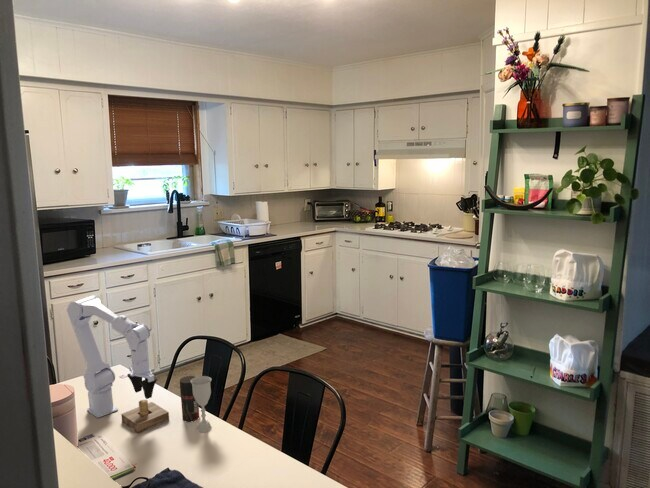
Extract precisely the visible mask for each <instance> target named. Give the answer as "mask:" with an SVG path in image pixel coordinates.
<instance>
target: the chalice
mask: <svg viewBox="0 0 650 488" xmlns="http://www.w3.org/2000/svg"><path fill="white" fill-rule="evenodd" d="M190 382H191V383H192V389H193V396H194V398H195V400H196V402H197V403H198V405H199V407H201V408H200V409H201V410H200V412H201V415H200V417H201V418H202V420H200V422H199V423H198V425H197V428H196V431H197V432H200V433H206V432H209V431H211V430H212V428H213V426H212V425H211V423H210V421H209V420H207V419H206V416H207V414H206V408H205V406H207V404H208V402H209V400H210V398H211V394H212V389H211V382H212V377H210V376H207V375H201V376H200V375H199V376H195V378H193V379H191V381H190Z"/></svg>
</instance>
